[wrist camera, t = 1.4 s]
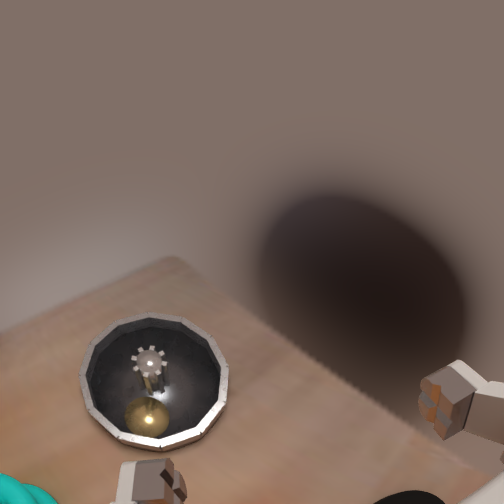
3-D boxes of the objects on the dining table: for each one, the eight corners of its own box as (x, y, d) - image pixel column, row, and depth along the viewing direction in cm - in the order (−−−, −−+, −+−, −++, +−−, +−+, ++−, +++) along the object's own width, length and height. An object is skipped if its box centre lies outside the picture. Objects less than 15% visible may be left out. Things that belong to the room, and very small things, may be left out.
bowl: (74, 432, 34) (54, 413, 29) (108, 319, 48) (99, 288, 44) (220, 461, 35) (224, 449, 30) (229, 337, 50) (234, 308, 45)
